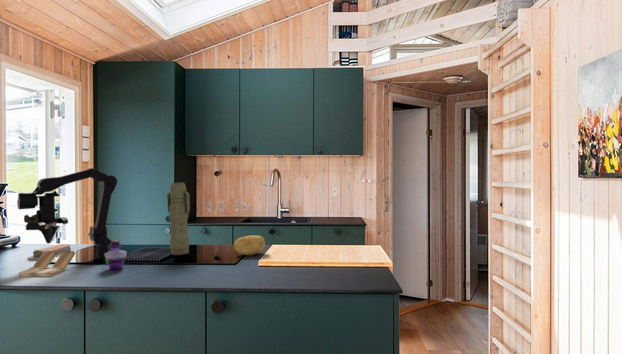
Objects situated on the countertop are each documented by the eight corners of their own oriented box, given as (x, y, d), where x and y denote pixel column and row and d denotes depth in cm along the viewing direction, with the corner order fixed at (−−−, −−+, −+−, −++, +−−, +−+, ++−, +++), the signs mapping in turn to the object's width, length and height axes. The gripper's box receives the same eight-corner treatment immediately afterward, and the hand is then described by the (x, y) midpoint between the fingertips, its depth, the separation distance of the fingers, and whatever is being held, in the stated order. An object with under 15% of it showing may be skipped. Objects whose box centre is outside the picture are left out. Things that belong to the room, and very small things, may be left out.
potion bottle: (99, 270, 172) (99, 242, 172) (116, 265, 180) (115, 238, 180) (115, 272, 169) (114, 243, 168) (131, 267, 177) (130, 239, 176)
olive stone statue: (173, 250, 209) (171, 182, 208) (194, 251, 207) (193, 182, 205) (163, 254, 200) (162, 183, 199) (186, 255, 198) (184, 183, 197)
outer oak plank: (56, 253, 179) (55, 251, 179) (45, 270, 172) (43, 267, 171) (45, 253, 180) (44, 251, 179) (33, 270, 172) (32, 267, 172)
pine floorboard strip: (64, 271, 171) (63, 267, 171) (52, 276, 164) (52, 271, 164) (31, 271, 171) (31, 267, 171) (18, 276, 164) (18, 271, 164)
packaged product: (57, 243, 211) (74, 243, 209) (57, 252, 211) (74, 253, 209) (26, 250, 193) (44, 251, 191) (27, 260, 193) (44, 261, 191)
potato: (263, 257, 193) (263, 236, 193) (233, 257, 193) (232, 237, 193) (266, 252, 203) (266, 233, 203) (237, 252, 204) (237, 233, 203)
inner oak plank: (75, 253, 179) (74, 251, 178) (64, 270, 172) (63, 267, 171) (64, 253, 179) (63, 251, 178) (53, 270, 172) (51, 267, 171)
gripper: (44, 205, 187) (46, 239, 188) (12, 210, 169) (14, 247, 169) (68, 205, 187) (69, 239, 187) (38, 209, 168) (40, 247, 169)
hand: (48, 243), depth 178 cm, fingers closed
